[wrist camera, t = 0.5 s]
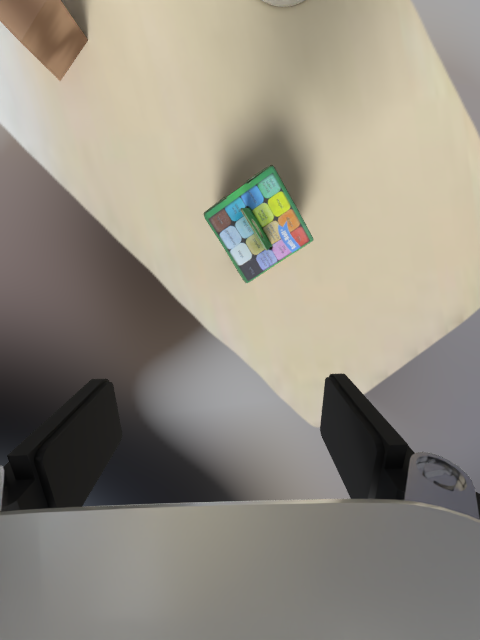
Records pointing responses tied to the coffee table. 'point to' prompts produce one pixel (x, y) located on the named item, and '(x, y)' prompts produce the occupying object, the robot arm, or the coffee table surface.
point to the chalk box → (258, 224)
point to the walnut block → (44, 31)
